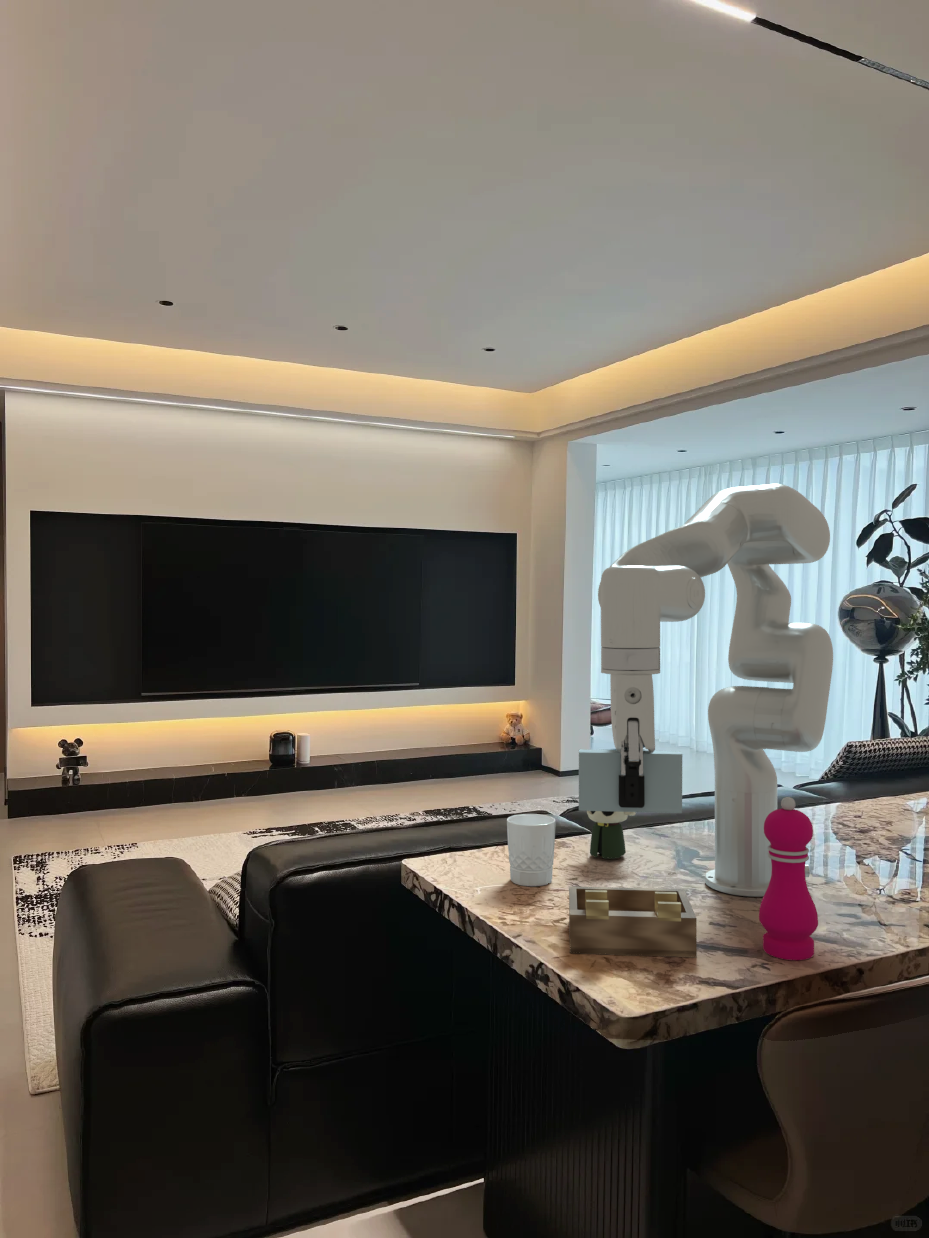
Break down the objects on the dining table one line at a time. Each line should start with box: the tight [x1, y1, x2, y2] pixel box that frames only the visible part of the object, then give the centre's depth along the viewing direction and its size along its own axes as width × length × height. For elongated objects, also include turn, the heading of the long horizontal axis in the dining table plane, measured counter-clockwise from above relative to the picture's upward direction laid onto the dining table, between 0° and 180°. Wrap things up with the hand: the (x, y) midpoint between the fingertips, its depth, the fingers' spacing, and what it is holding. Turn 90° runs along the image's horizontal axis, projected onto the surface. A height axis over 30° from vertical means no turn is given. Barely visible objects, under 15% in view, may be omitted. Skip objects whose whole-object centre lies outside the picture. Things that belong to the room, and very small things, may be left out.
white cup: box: [506, 813, 556, 887], centre depth 151 cm, size 8×8×10 cm
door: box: [578, 748, 683, 814], centre depth 120 cm, size 13×2×8 cm, turn 84°
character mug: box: [586, 811, 637, 859], centre depth 165 cm, size 11×7×13 cm, turn 54°
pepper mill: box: [758, 796, 819, 961], centre depth 120 cm, size 7×7×20 cm
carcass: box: [568, 885, 698, 958], centre depth 124 cm, size 16×13×7 cm
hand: (630, 802), depth 120 cm, fingers closed on door, 2 cm apart
